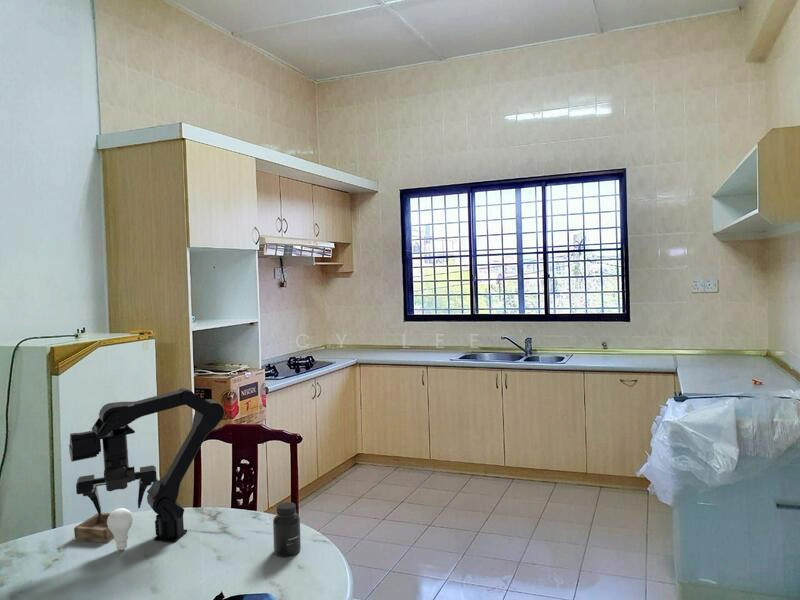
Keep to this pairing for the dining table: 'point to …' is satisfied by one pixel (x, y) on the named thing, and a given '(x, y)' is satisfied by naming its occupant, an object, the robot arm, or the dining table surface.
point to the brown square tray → (94, 529)
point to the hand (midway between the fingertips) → (119, 511)
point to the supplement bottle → (286, 530)
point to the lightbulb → (120, 526)
